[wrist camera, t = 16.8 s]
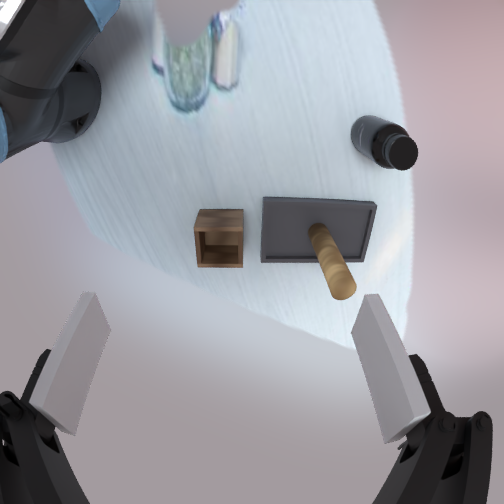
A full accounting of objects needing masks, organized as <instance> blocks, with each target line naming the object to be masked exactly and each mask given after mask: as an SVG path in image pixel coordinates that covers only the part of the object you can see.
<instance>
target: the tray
mask: <svg viewBox="0 0 504 504" xmlns="http://www.w3.org/2000/svg"><path fill="white" fill-rule="evenodd" d="M376 210H377V205H376V204H375V203H374V202H371V201H356V200H339V199H319V198H291V197H263V213H262V237H261V263H319V261H318V258H317V256H316V253H315V251H314V248H313V246H312V243H311V241H310V238H309V236H308V230H309V228H310V227H311V226H312V225H313V224H315V223H322V224H324V225H325V226H326V227H327V229H328V231H329V233H330V234H331V236H332V238H333V240H334V242H335V244H336V246H337V248H338V249H339V251H340V253H341V255H342V257H343V259H344V261H345V262H364V258H365V255H366V251H367V247H368V243H369V239H370V235H371V231H372V227H373V223H374V218H375V214H376Z"/></svg>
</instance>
